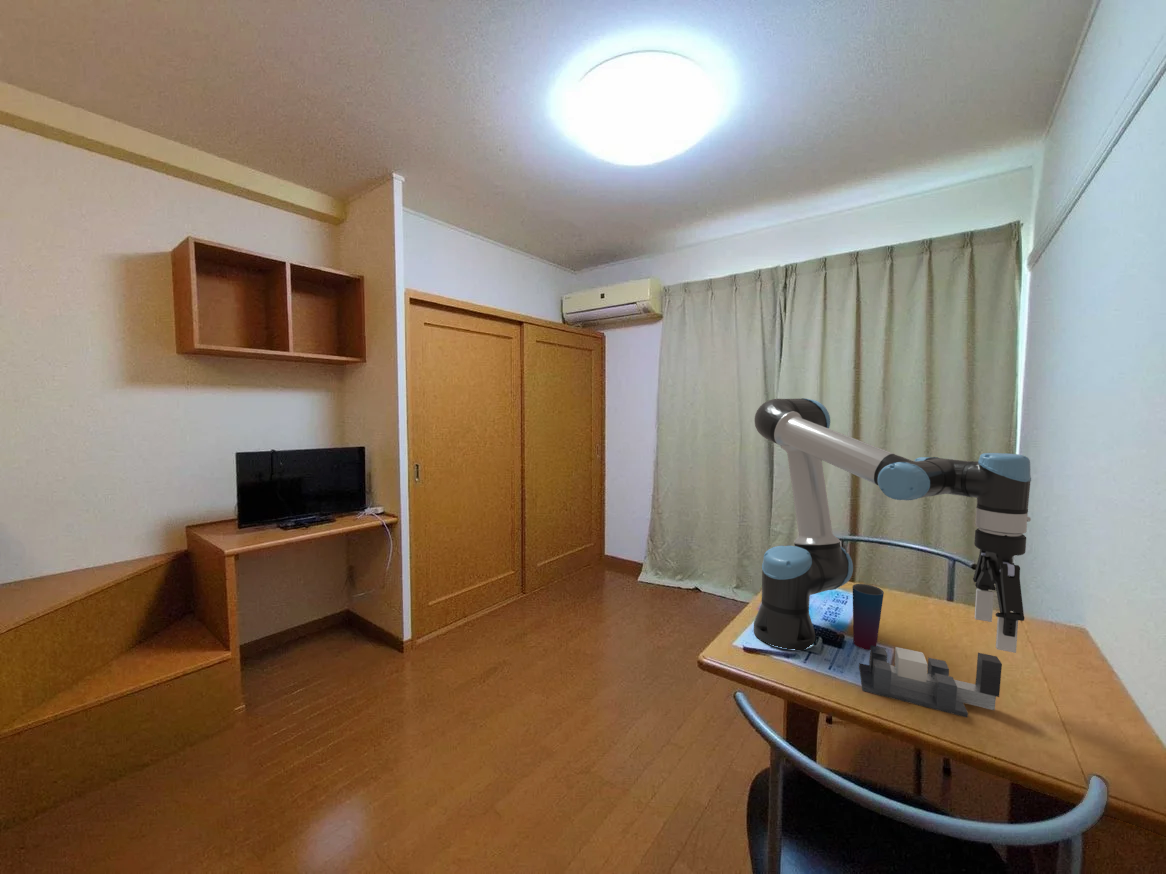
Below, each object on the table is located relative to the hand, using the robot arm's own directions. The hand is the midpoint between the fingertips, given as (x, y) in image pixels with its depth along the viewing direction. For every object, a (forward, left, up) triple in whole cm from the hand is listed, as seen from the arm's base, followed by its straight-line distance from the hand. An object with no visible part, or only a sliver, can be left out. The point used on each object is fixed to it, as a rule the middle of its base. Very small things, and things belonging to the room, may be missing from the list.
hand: (993, 634), depth 92 cm
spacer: (-13, 0, -10) cm, 17 cm away
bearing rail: (-13, 0, -16) cm, 21 cm away
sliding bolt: (-9, 0, -15) cm, 18 cm away
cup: (-20, +17, -16) cm, 31 cm away
